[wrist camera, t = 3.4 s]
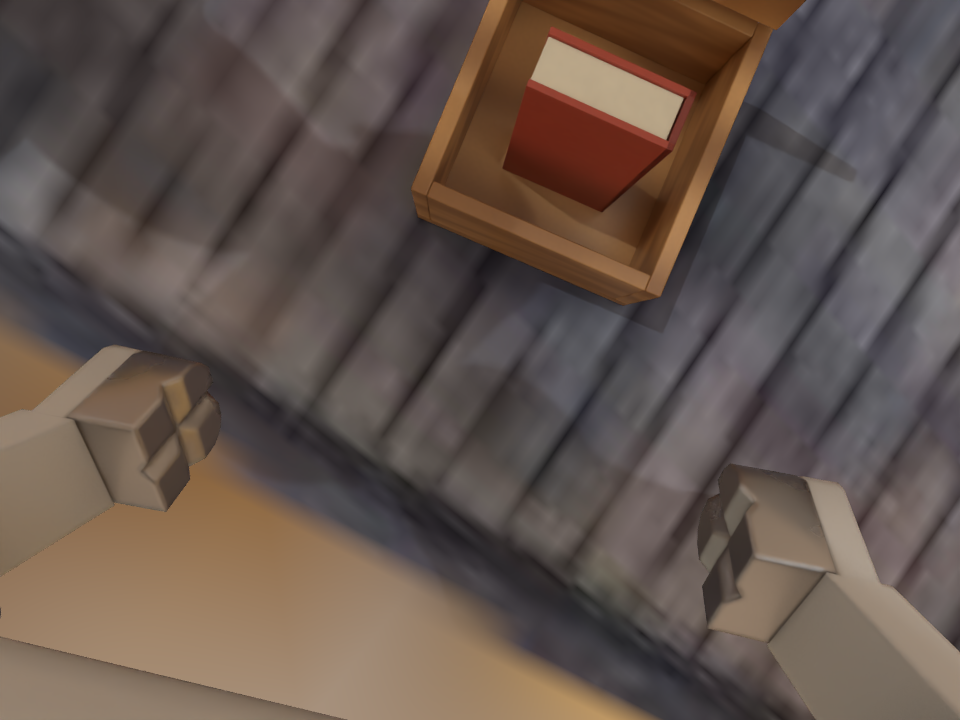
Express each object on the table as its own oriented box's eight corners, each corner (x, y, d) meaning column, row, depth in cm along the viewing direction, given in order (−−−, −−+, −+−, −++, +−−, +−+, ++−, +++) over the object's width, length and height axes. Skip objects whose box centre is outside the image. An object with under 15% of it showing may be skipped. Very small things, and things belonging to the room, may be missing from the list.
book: (602, 212, 33) (672, 151, 22) (502, 168, 33) (526, 85, 22) (619, 172, 33) (697, 92, 22) (519, 127, 33) (551, 25, 22)
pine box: (623, 306, 34) (660, 297, 28) (417, 217, 33) (410, 189, 27) (717, 84, 34) (774, 28, 28) (512, -10, 33) (526, -88, 27)
